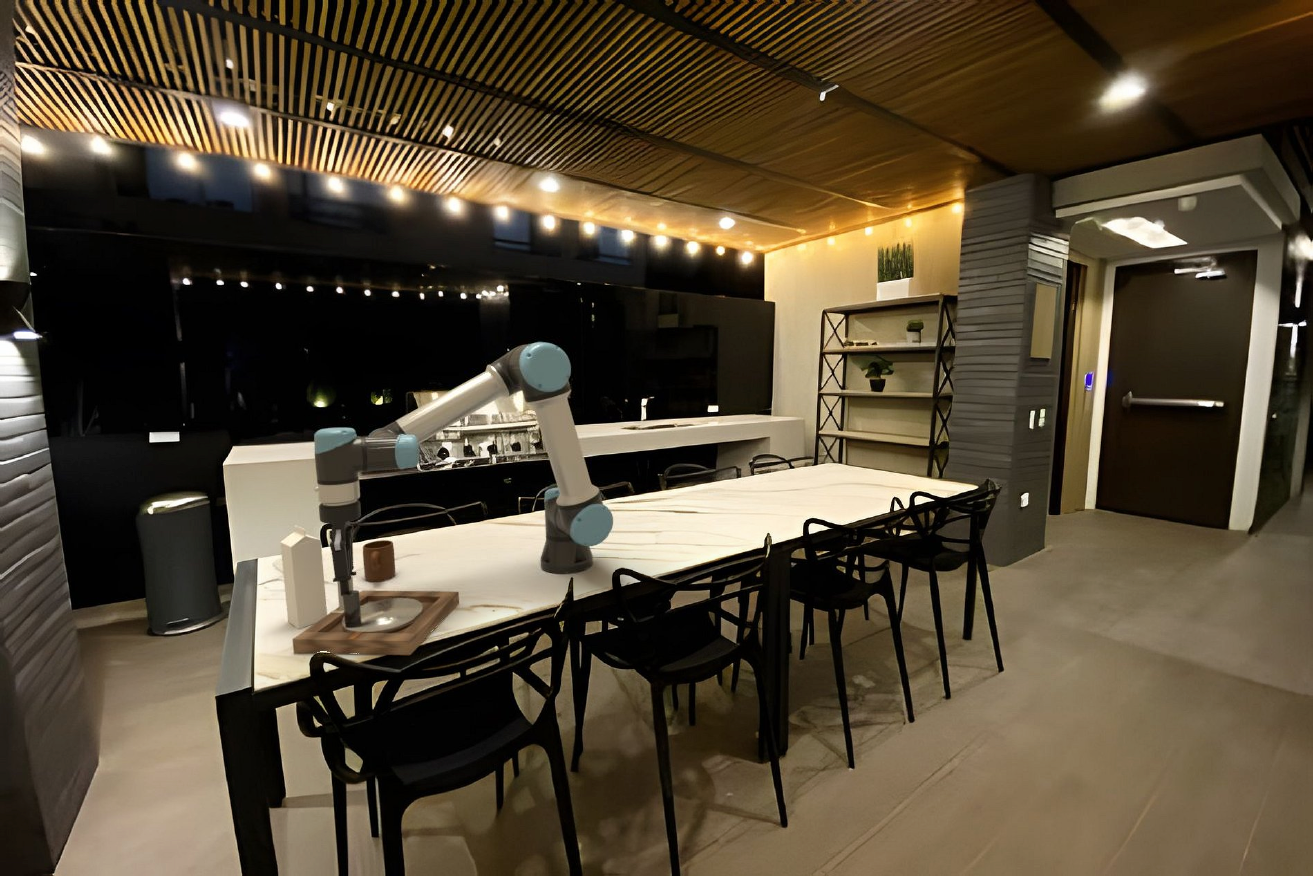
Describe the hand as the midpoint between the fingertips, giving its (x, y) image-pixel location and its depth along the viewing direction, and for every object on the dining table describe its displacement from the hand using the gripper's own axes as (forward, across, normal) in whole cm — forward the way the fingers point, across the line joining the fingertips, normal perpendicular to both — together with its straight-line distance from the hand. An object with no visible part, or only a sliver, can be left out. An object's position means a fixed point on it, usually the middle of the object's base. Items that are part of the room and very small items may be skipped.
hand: (347, 607), depth 115 cm
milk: (+6, -10, -10) cm, 15 cm away
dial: (+4, 0, +7) cm, 8 cm away
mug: (+6, -30, +3) cm, 31 cm away
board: (+6, 0, +7) cm, 9 cm away
